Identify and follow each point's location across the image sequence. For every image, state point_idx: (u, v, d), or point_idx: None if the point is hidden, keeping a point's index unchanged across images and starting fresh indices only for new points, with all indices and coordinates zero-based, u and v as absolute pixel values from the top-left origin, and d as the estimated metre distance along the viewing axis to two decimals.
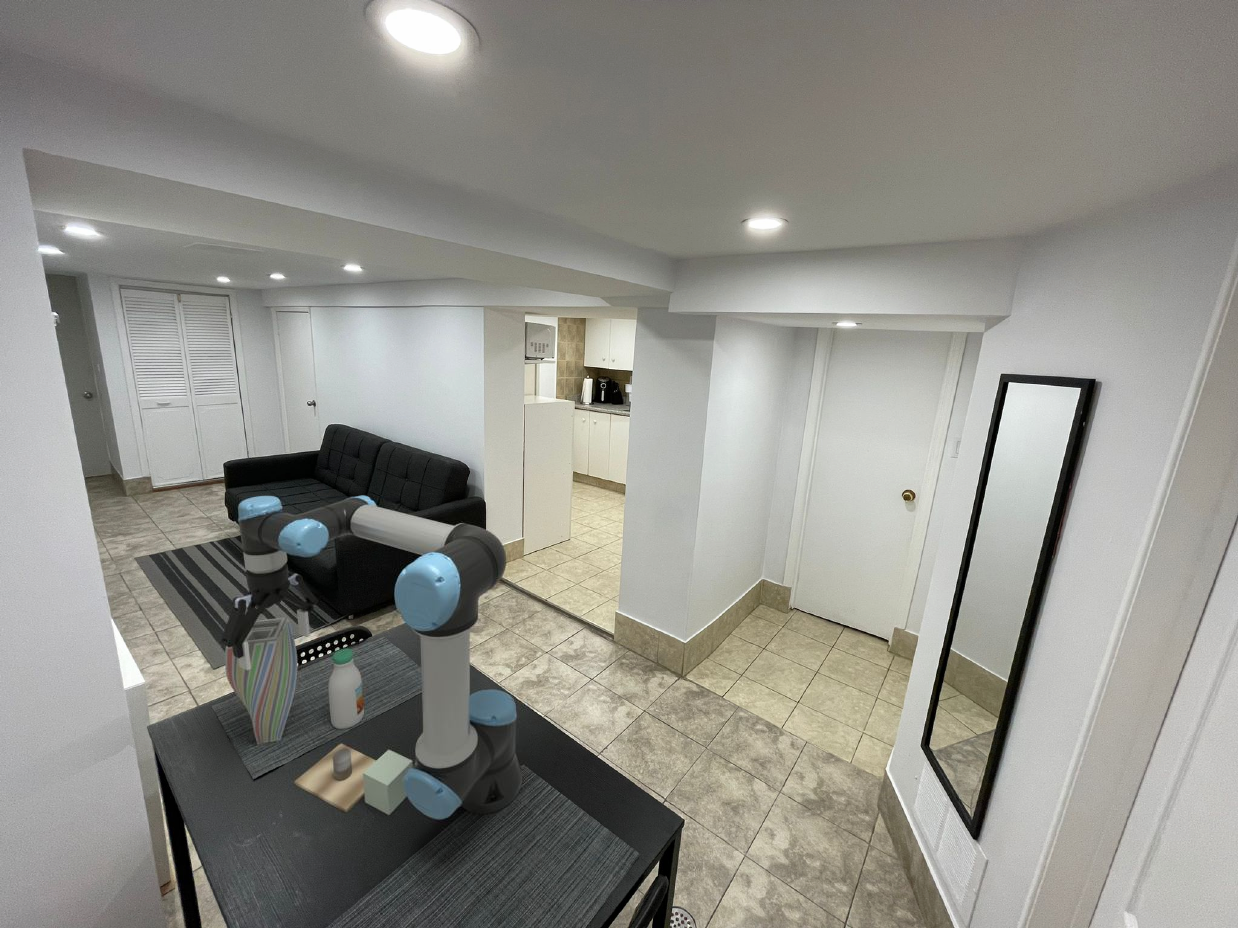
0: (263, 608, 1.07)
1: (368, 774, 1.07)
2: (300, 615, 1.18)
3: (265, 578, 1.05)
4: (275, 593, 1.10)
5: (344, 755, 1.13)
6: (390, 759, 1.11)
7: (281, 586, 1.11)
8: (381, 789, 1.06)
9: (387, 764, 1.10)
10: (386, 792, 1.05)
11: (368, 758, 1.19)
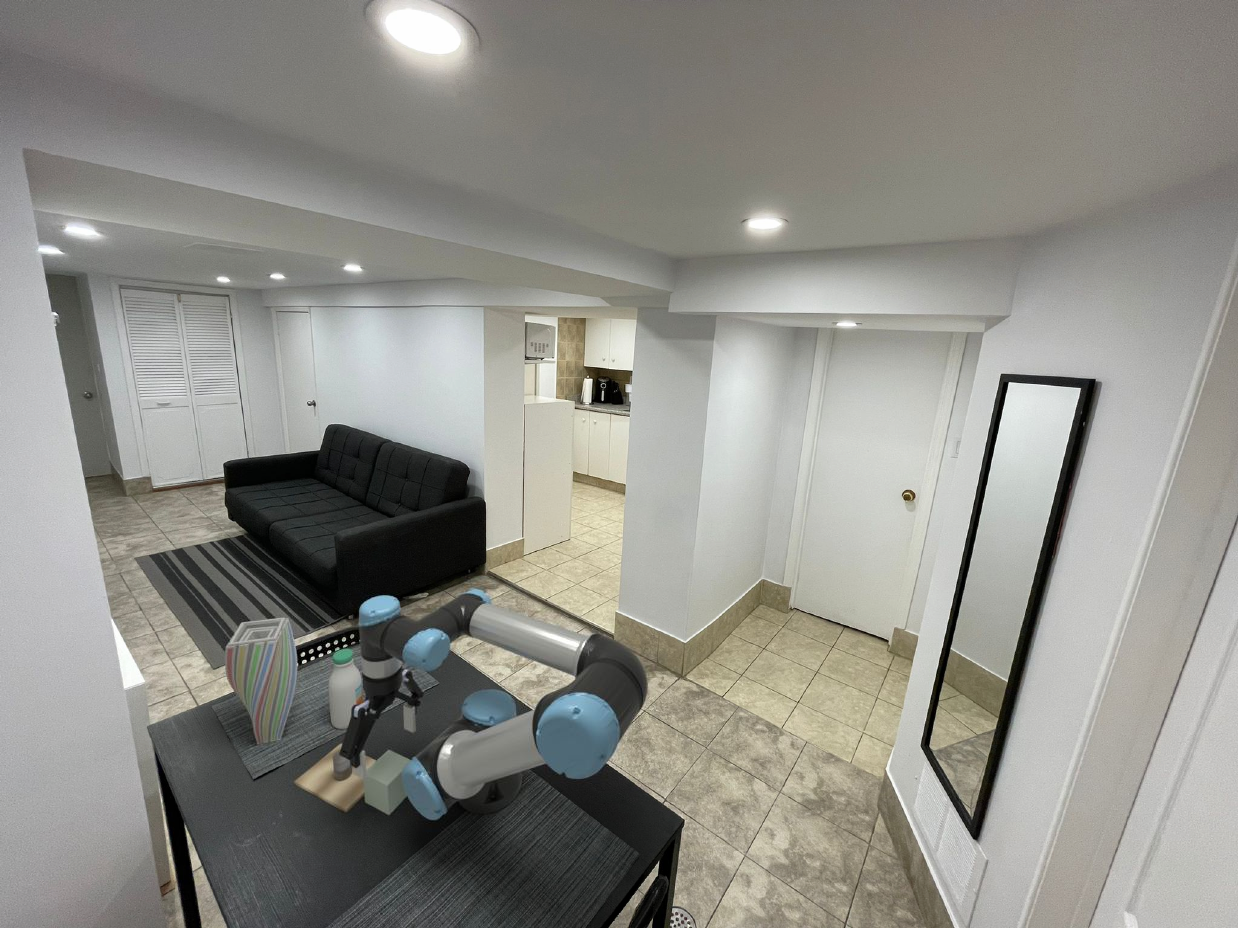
0: (379, 713, 1.02)
1: (368, 774, 1.07)
2: (407, 710, 1.13)
3: (383, 684, 1.00)
4: (389, 695, 1.05)
5: None
6: (390, 759, 1.11)
7: None
8: (381, 789, 1.06)
9: (387, 764, 1.10)
10: (386, 792, 1.05)
11: (368, 758, 1.19)
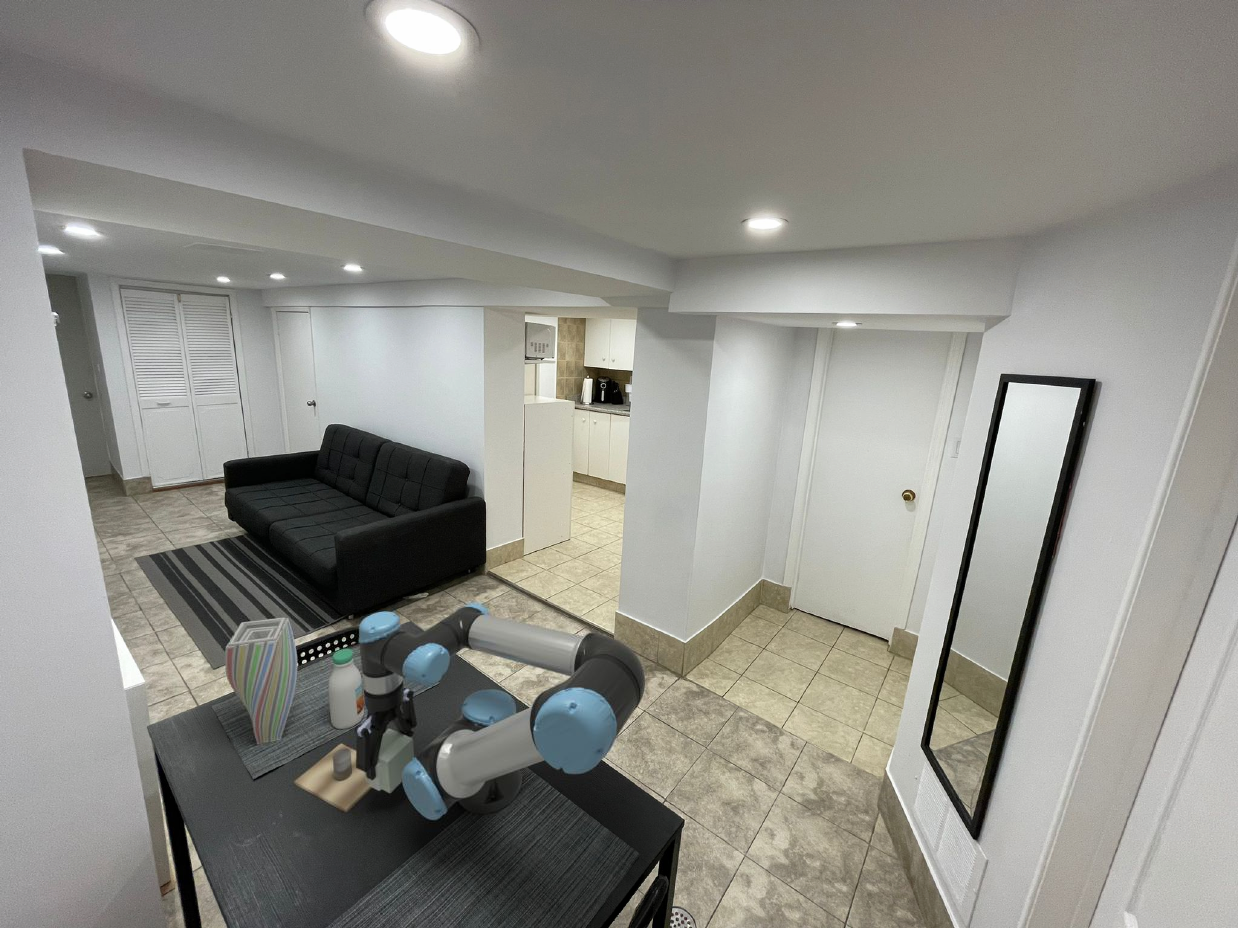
0: (385, 728, 1.04)
1: None
2: None
3: (385, 700, 1.01)
4: (391, 709, 1.05)
5: (344, 755, 1.13)
6: (390, 737, 1.09)
7: None
8: (382, 767, 1.04)
9: (388, 742, 1.08)
10: (386, 769, 1.04)
11: None
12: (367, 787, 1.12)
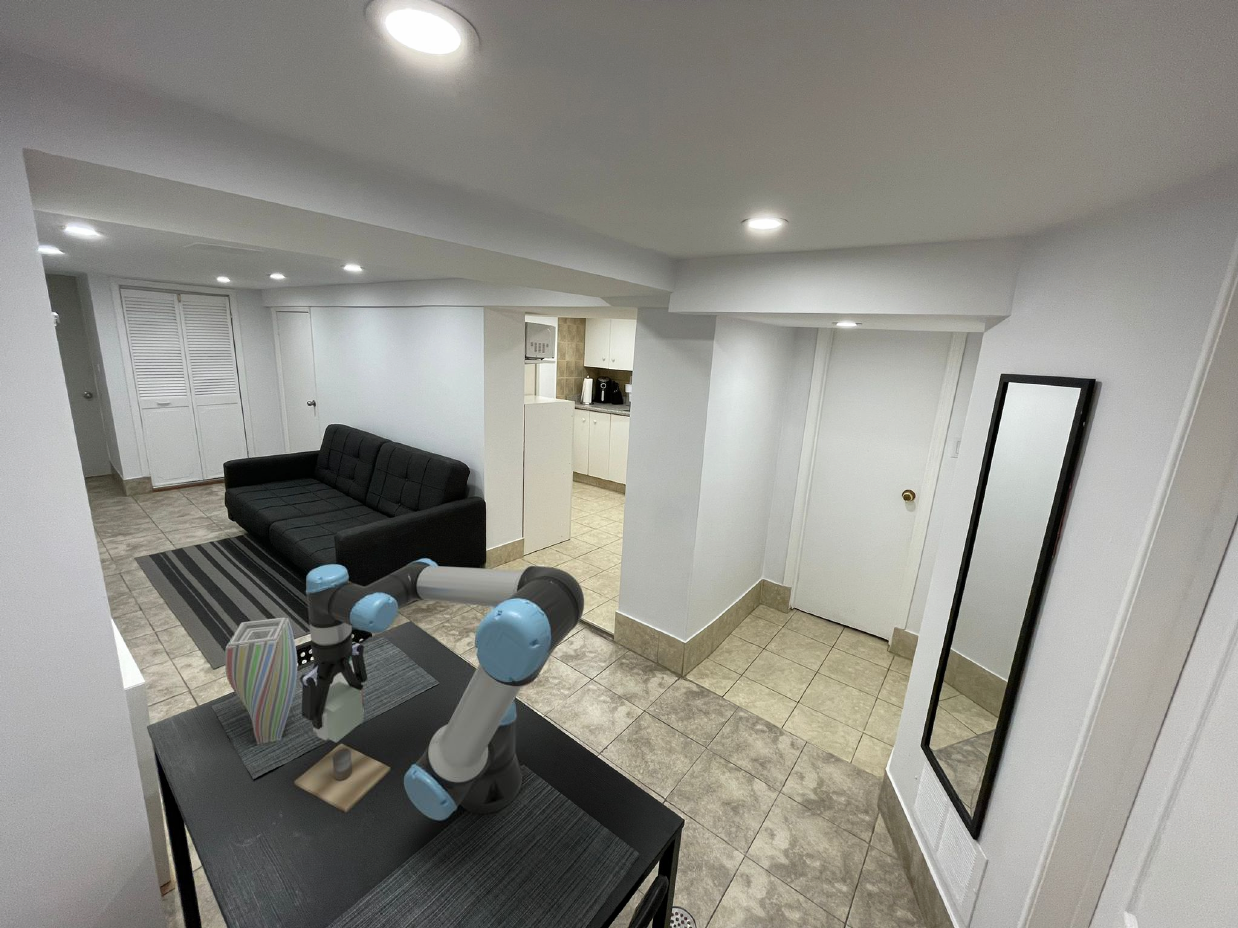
0: (332, 679, 1.05)
1: None
2: None
3: (331, 650, 1.03)
4: (339, 661, 1.07)
5: (344, 755, 1.13)
6: (339, 689, 1.11)
7: None
8: (328, 716, 1.06)
9: (336, 693, 1.10)
10: (332, 719, 1.06)
11: (368, 758, 1.19)
12: (367, 787, 1.12)
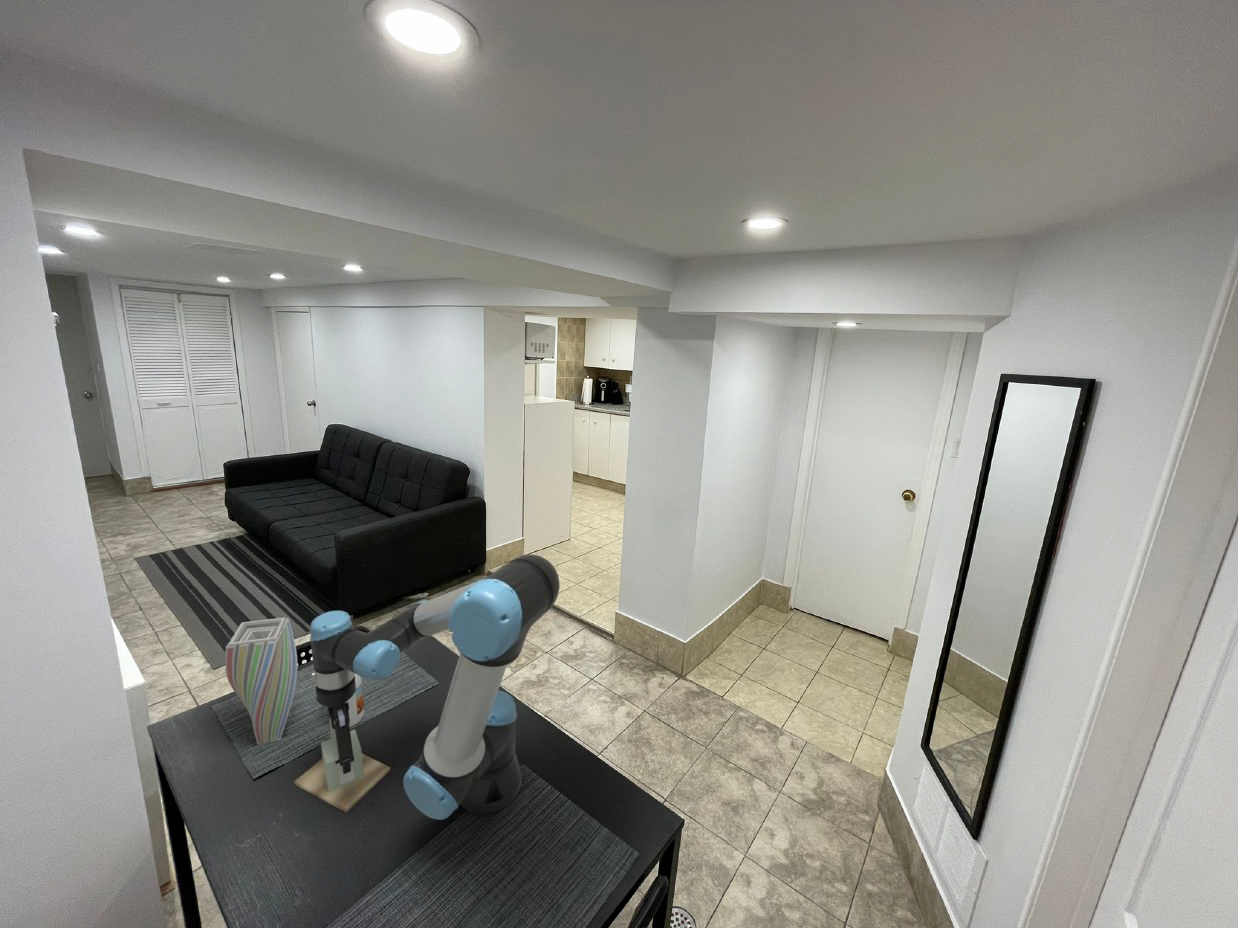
0: None
1: (332, 760, 1.09)
2: (335, 721, 1.17)
3: (352, 686, 1.08)
4: None
5: None
6: (334, 743, 1.13)
7: None
8: None
9: None
10: (360, 757, 1.12)
11: (368, 758, 1.19)
12: (367, 787, 1.12)
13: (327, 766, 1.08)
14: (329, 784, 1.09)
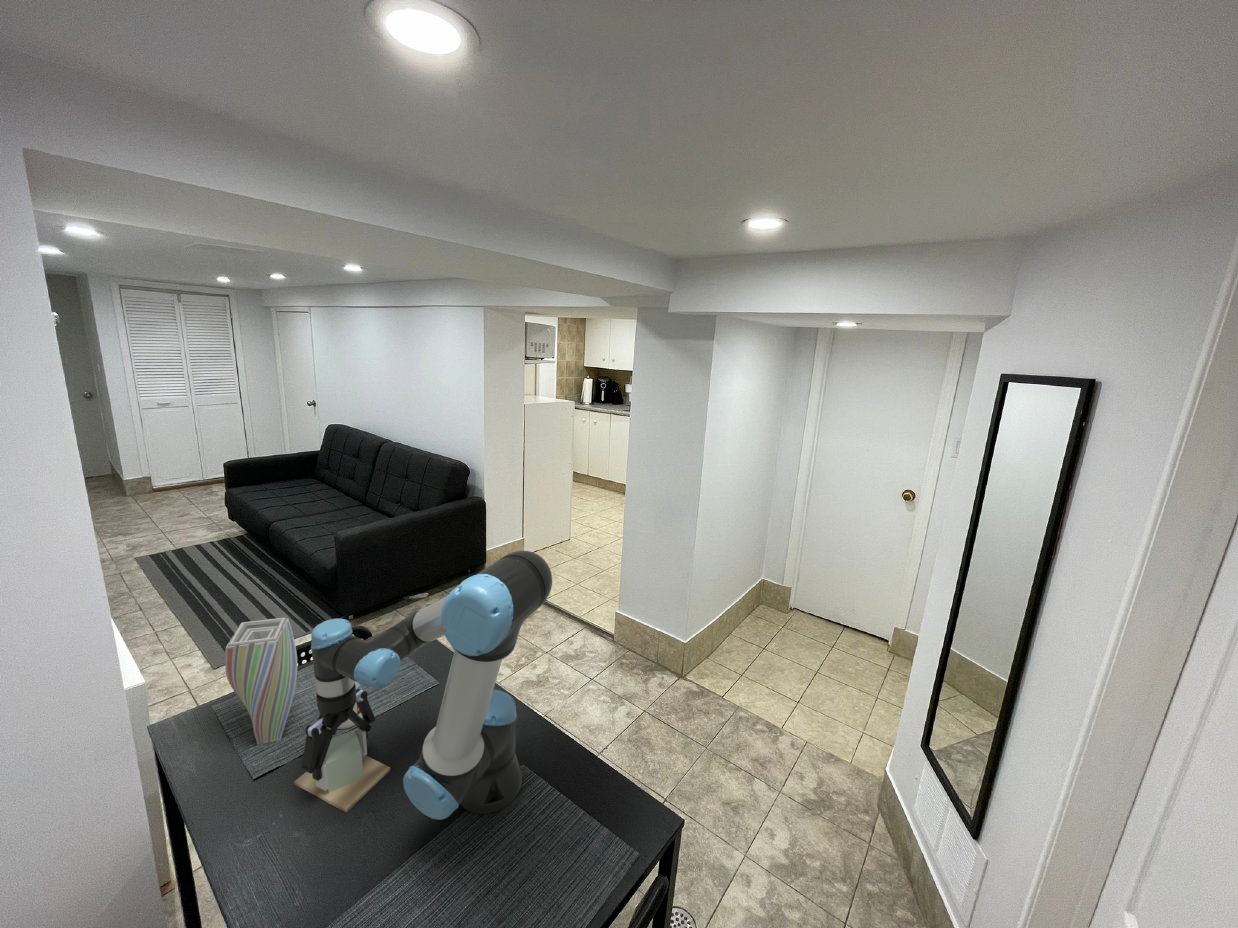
0: (335, 730, 1.08)
1: (332, 760, 1.09)
2: (358, 735, 1.17)
3: (336, 703, 1.06)
4: (343, 712, 1.10)
5: None
6: (334, 743, 1.13)
7: None
8: (353, 759, 1.12)
9: (337, 745, 1.13)
10: (360, 757, 1.12)
11: (368, 758, 1.19)
12: (367, 787, 1.12)
13: (327, 766, 1.08)
14: (329, 784, 1.09)
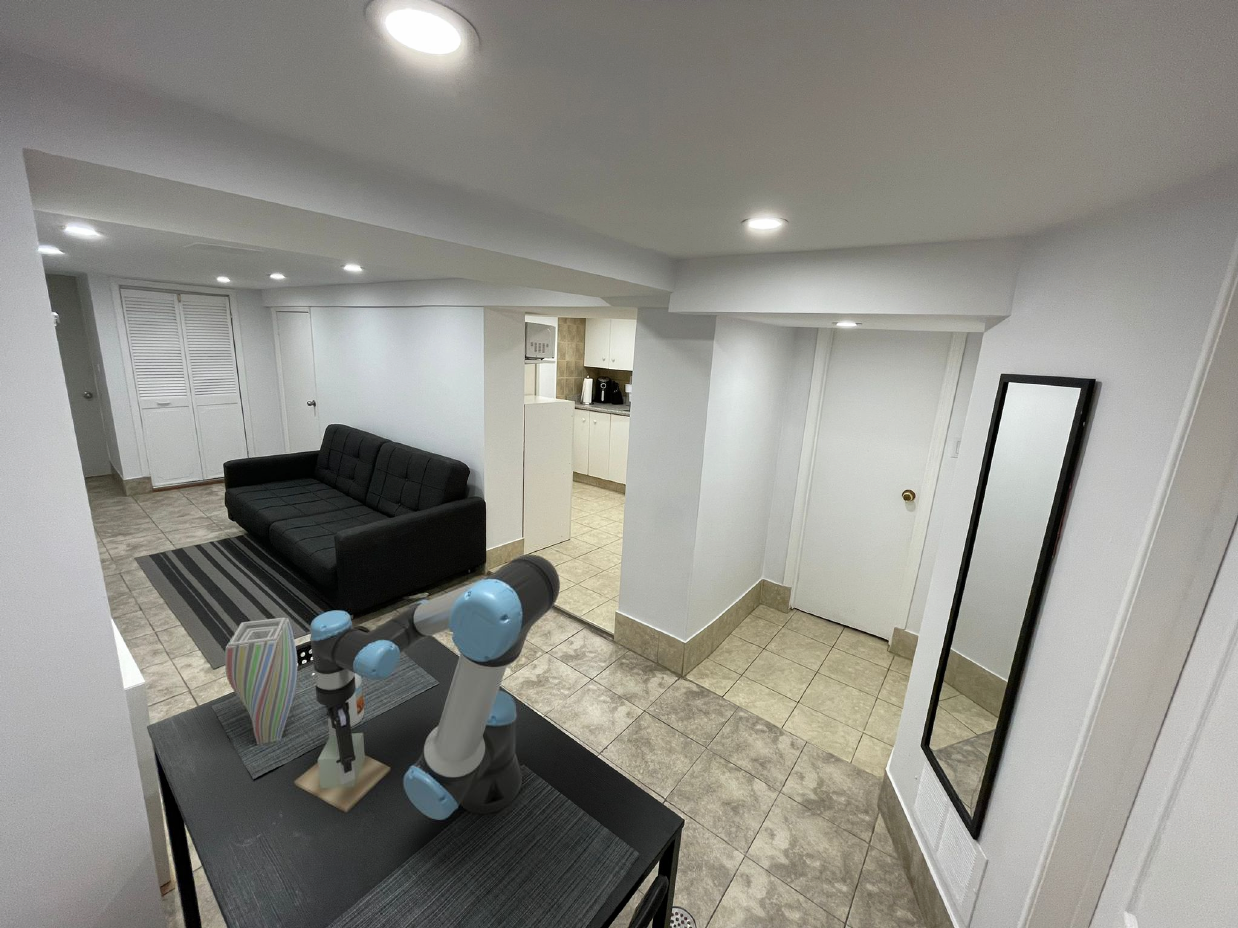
0: None
1: None
2: (334, 721, 1.17)
3: (352, 685, 1.08)
4: None
5: None
6: (331, 749, 1.11)
7: None
8: (360, 745, 1.15)
9: (337, 747, 1.12)
10: (362, 741, 1.17)
11: (368, 758, 1.19)
12: (367, 787, 1.12)
13: None
14: None
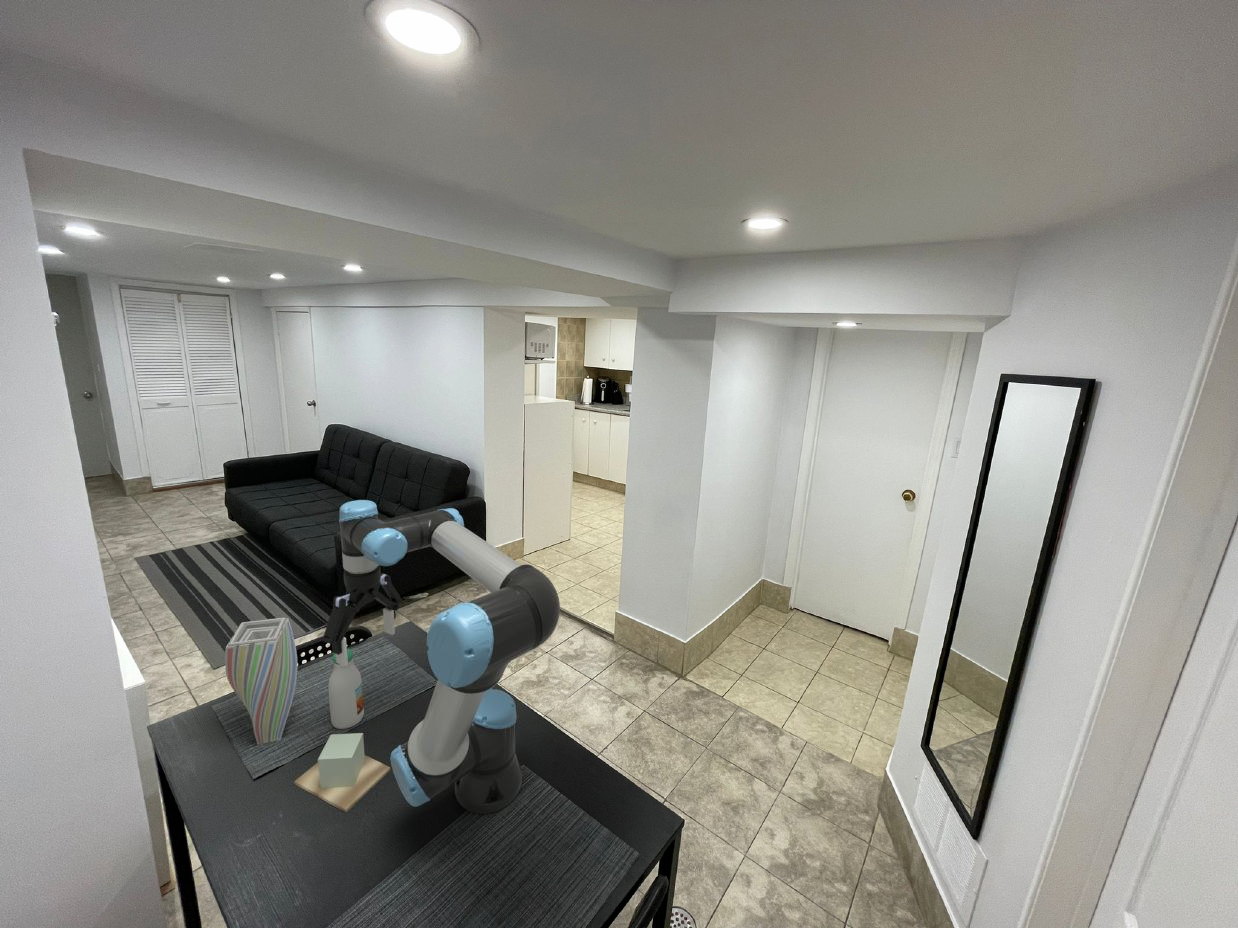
0: (359, 607, 1.13)
1: (352, 752, 1.11)
2: (386, 614, 1.24)
3: (362, 579, 1.11)
4: (368, 592, 1.15)
5: None
6: (331, 749, 1.11)
7: (373, 586, 1.16)
8: (360, 745, 1.15)
9: (337, 747, 1.12)
10: (362, 741, 1.17)
11: (368, 758, 1.19)
12: (367, 787, 1.12)
13: (352, 759, 1.10)
14: (354, 777, 1.12)
